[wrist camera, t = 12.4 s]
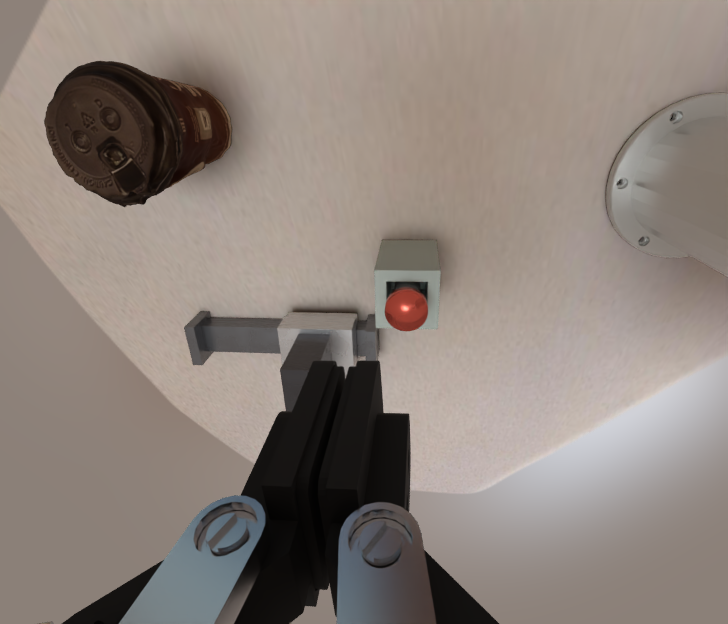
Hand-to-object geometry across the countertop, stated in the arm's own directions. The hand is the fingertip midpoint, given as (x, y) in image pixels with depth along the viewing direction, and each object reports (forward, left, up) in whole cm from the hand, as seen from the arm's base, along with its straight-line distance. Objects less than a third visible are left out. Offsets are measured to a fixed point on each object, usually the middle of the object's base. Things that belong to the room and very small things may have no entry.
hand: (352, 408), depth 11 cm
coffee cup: (+18, -6, -30) cm, 35 cm away
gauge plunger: (-1, +7, -27) cm, 28 cm away
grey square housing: (-1, +7, -30) cm, 31 cm away
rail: (+12, +14, -30) cm, 35 cm away
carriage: (+8, +14, -30) cm, 34 cm away
